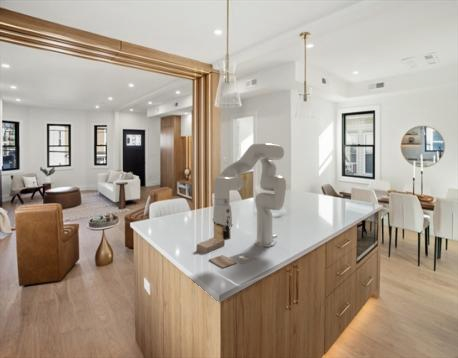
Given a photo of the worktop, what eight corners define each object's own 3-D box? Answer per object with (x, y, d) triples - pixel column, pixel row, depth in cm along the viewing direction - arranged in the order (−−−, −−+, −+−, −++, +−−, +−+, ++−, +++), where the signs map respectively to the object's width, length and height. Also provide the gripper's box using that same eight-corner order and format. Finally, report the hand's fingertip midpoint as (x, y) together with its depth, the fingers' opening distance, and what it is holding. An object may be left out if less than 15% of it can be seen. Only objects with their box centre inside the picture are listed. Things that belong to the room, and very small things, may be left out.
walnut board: (222, 257, 139) (222, 255, 139) (237, 264, 130) (237, 262, 129) (208, 261, 133) (208, 259, 133) (222, 269, 124) (222, 267, 124)
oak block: (223, 236, 134) (223, 222, 133) (230, 238, 130) (230, 225, 129) (213, 238, 130) (213, 224, 130) (220, 241, 126) (220, 227, 125)
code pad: (244, 253, 144) (244, 252, 144) (258, 259, 135) (258, 258, 135) (228, 258, 137) (228, 257, 137) (242, 265, 129) (242, 264, 129)
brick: (206, 255, 143) (205, 246, 142) (195, 251, 148) (195, 243, 148) (225, 246, 156) (225, 239, 155) (215, 243, 161) (215, 236, 160)
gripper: (238, 203, 124) (238, 239, 126) (217, 198, 137) (218, 231, 139) (226, 205, 119) (226, 242, 121) (206, 200, 133) (206, 234, 134)
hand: (222, 236), depth 130 cm, fingers closed on oak block, 6 cm apart
